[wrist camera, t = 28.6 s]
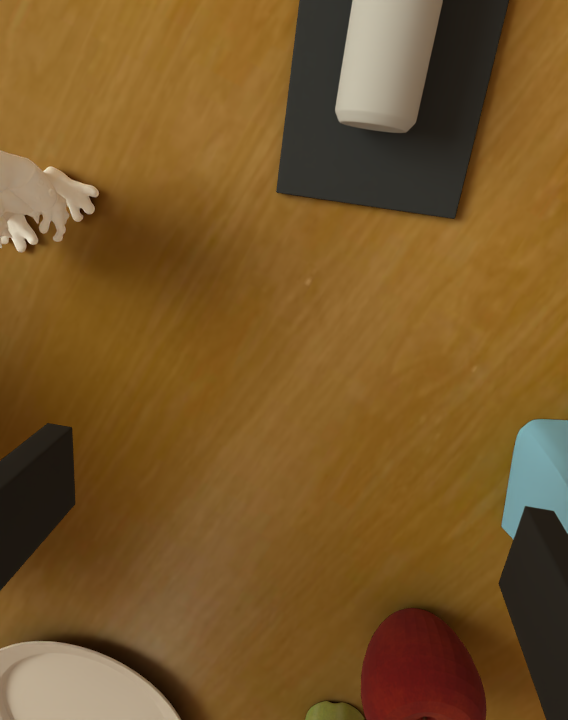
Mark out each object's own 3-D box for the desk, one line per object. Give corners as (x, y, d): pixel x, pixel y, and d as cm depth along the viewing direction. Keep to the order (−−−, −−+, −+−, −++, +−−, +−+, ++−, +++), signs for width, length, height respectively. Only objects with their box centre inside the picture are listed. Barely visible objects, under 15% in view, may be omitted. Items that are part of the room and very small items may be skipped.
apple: (479, 659, 46) (510, 781, 36) (377, 672, 48) (381, 790, 39) (453, 578, 43) (479, 688, 34) (347, 596, 45) (343, 703, 36)
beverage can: (398, 125, 27) (460, -169, 22) (318, 117, 29) (360, -155, 24) (423, 137, 31) (480, -112, 26) (351, 128, 33) (393, -103, 28)
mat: (453, 218, 33) (455, 219, 33) (277, 192, 34) (276, 192, 34) (562, -224, 25) (567, -233, 25) (330, -240, 27) (329, -249, 26)
